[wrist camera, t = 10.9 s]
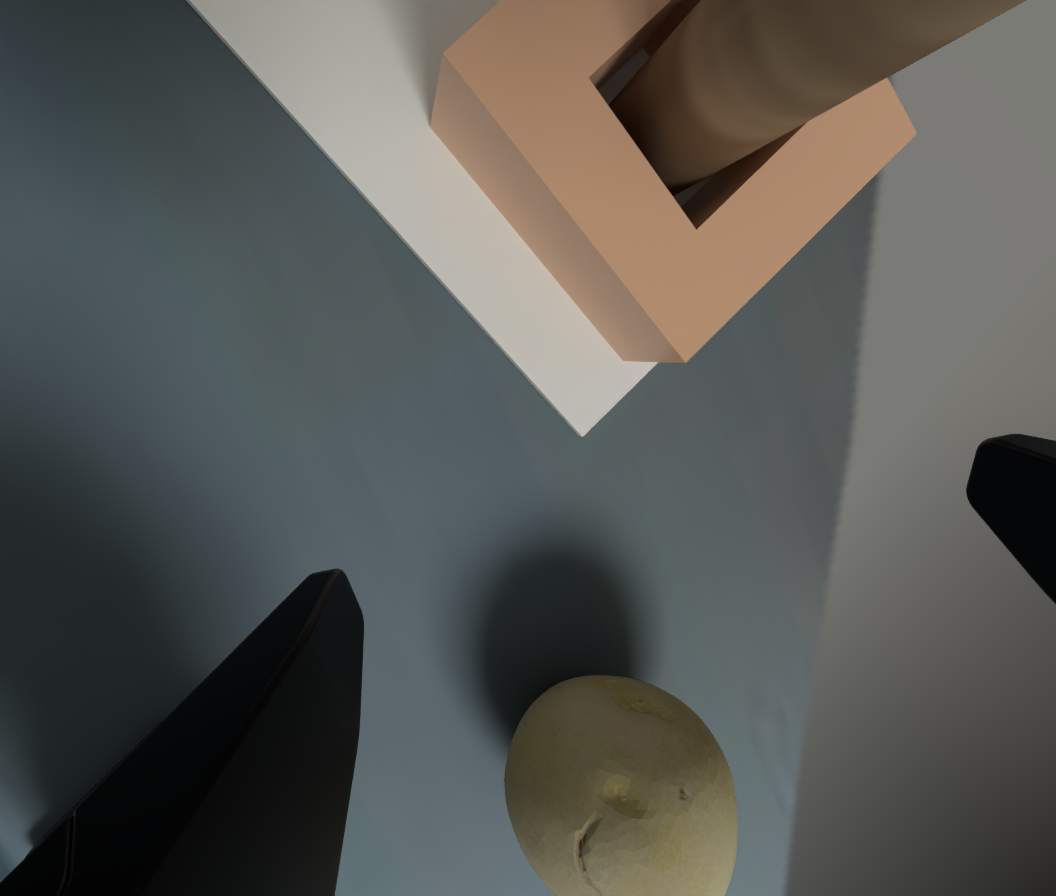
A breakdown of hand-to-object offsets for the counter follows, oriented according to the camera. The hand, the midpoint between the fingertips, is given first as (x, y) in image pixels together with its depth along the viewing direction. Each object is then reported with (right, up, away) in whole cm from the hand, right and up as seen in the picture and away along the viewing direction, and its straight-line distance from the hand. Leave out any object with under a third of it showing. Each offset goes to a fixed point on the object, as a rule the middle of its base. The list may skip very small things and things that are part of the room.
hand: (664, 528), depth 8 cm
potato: (0, -10, +15) cm, 18 cm away
